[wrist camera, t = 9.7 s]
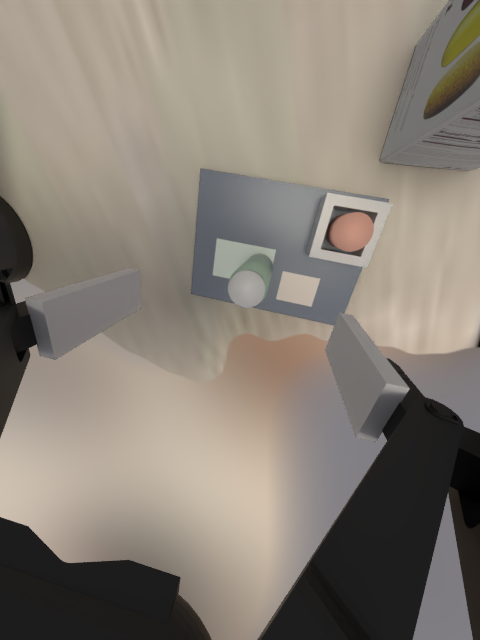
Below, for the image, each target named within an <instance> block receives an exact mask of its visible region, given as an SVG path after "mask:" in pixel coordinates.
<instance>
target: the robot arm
mask: <svg viewBox="0 0 480 640" xmlns="http://www.w3.org/2000/svg"><path fill="white" fill-rule="evenodd" d="M31 263H32V251H31V245H30V241H29V238H28V236H27V233H26V231H25V229H24V227H23V225H22V223H21V221H20V220H19V218H18V216H17V215H16V214H15V212H14V211H13V210H12V208H11V207H10V206H9V205H8V204H7V203H6V202H5V201H4V200H3V199H2V198H1V197H0V437H1V434H2V432H3V429H4V426H5V424H6V421H7V418H8V415H9V413H10V410H11V407H12V405H13V402H14V399H15V396H16V394H17V391H18V388H19V385H20V382H21V380H22V377H23V374H24V372H25V369H26V366H27V364H28V361H29V358H30V352H29V348H30V347H32V346H34V345H36V344H37V347H38V350H39V355H40V356H43V357H47V358H50V359H57V358H59V357H61V356H62V355H64V354H65V353H67V352H69V351H71V350H72V349H74V348H76V347H77V346H79V345H80V344H82V343H84V342H86V341H87V340H89V339H90V338H92V337H94V336H96V335H97V334H98V333H100V332H102V331H104V330H105V329H107V328H109V327H110V326H112V325H114V324H115V323H117V322H119V321H120V320H122V319H124V318H125V317H127V316H129V315H130V314H132V313H134V312H135V311H137V310H139V309H140V308H141V295H140V270H137V269H132V268H127V269H123V270H120V271H117V272H113V273H110V274H106V275H103V276H99V277H96V278H92V279H89V280H86V281H82V282H79V283H75V284H72V285H68V286H65V287H61V288H58V289H55V290H51V291H48V292H44V293H41V294H37V295H34V296H30V297H27V298H25V301H24V302H20V303H17V304H16V302H15V299H14V296H13V292H12V288H11V285H10V283H11V282H16V281H19V280H21V279H23V278H24V277H25V276H26V275H27V274H28V272H29V270H30V267H31ZM325 351H326V354H327V357H328V360H329V363H330V366H331V368H332V371H333V374H334V377H335V380H336V382H337V386H338V388H339V391H340V394H341V397H342V400H343V403H344V405H345V408H346V411H347V414H348V417H349V419H350V423H351V425H352V428H353V431H354V434H355V437H357V438H360V439H364V440H368V441H372V442H376V441H377V439H378V438H379V436H380V435H381V433H382V432H383V433H384V435H385V437H386V439H387V442H386V444H385V445H384V447H383V449H382V450H381V451H380V453H379V454H378V456H377V457H376V459H375V461H374V462H373V464H372V465H371V467H370V468H369V470H368V471H367V473H366V474H365V476H364V478H363V479H362V481H361V482H360V484H359V485H358V487H357V488H356V490H355V491H354V493H353V495H352V496H351V497H350V499H349V500H348V502H347V504H346V505H345V507H344V508H343V510H342V511H341V513H340V514H339V516H338V517H337V519H336V520H335V522H334V524H333V525H332V526H331V528H330V530H329V532H328V533H327V534H326V536H325V537H324V539H323V540H322V542H321V544H320V545H319V546H318V548H317V549H316V551H315V553H314V554H313V556H312V557H311V559H310V560H309V562H308V563H307V565H306V566H305V568H304V569H303V571H302V572H301V574H300V576H299V577H298V579H297V580H296V582H295V583H294V585H293V586H292V588H291V589H290V591H289V593H288V594H287V595H286V597H285V598H284V600H283V602H282V603H281V605H280V606H279V608H278V609H277V611H276V612H275V614H274V615H273V617H272V618H271V620H270V621H269V623H268V624H267V626H266V627H265V629H264V631H263V632H262V633H261V635H260V637H259V638H258V640H412V639H413V635H414V631H415V627H416V623H417V619H418V615H419V610H420V606H421V602H422V598H423V594H424V589H425V585H426V581H427V577H428V573H429V569H430V564H431V561H432V556H433V552H434V548H435V544H436V540H437V535H438V531H439V527H440V523H441V519H442V515H443V510H444V506H445V502H446V498H447V494H448V493H449V499H450V505H451V511H452V517H453V523H454V529H455V535H456V541H457V547H458V552H459V559H460V565H461V571H462V576H463V583H464V589H465V595H466V600H467V606H468V612H469V618H470V624H471V630H472V636H473V640H480V433H478V432H476V431H473V430H471V429H468V428H466V427H464V425H463V422H462V420H461V419H460V417H459V416H458V415H457V414H456V413H454V412H453V411H452V410H451V409H449V408H448V407H446V406H445V405H443V404H441V403H439V402H437V401H435V400H432V399H429V398H425V397H424V396H423V395H422V393H421V392H420V391H419V390H418V389H417V387H416V386H415V385H414V384H413V382H412V381H410V379H409V378H408V376H407V375H405V373H404V372H403V370H402V369H401V368H400V367H399V366H398V365H397V364H396V363H394V362H393V361H391V360H390V359H388V358H386V357H385V356H384V355H383V354H382V352H381V351H380V350H379V349H378V347H377V346H376V345H375V343H374V342H373V341H372V340H371V338H370V337H369V336H368V335H367V333H366V332H365V331H364V329H363V328H362V327H361V326H360V324H359V323H358V322H357V320H356V319H355V318H354V317H353V315H349V314H344V313H339V315H338V318H337V321H336V323H335V326H334V328H333V331H332V333H331V336H330V339H329V341H328V344H327V346H326V349H325ZM179 584H180V577H178V576H175V575H172V574H169V573H166V572H163V571H160V570H157V569H154V568H151V567H148V566H145V565H142V564H139V563H136V562H133V561H130V560H120V561H102V562H84V563H66V562H63V561H62V560H60V559H59V558H58V557H57V556H56V555H55V554H54V553H53V552H52V550H51V549H49V547H48V546H47V545H46V544H44V543H43V541H42V540H41V539H40V538H39V537H38V536H37V535H36V534H35V533H34V532H33V531H32V530H31V529H30V528H29V527H28V526H25V525H22V524H19V523H16V522H13V521H10V520H7V519H4V518H1V517H0V640H211V637H210V635H209V633H208V631H207V630H206V628H205V626H204V624H203V623H202V621H201V619H200V618H199V616H198V615H197V614H196V612H195V611H194V610H193V608H192V607H191V606H190V605H189V604H188V603H187V602H186V601H185V600H184V599H183V598H182V597H181V596H180V595H179V594H178V592H179Z"/></svg>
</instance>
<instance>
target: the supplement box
mask: <svg viewBox="0 0 480 640" xmlns="http://www.w3.org/2000/svg"><path fill="white" fill-rule="evenodd" d="M380 162H384V163H392V164H402V165H412V166H423V167H433V168H443V169H454V170H464V171H469V170H473V169H477V168H480V0H449V2H448V3H447V4H446V6H445V7H444V8H443V10H442V11H441V12H440V14H439V15H438V16H437V18H436V19H435V20H434V22H433V23H432V24H431V26H430V27H429V28H428V30H427V31H426V32H425V34H424V35H423V36H422V38H421V39H420V40H419V42H418V43H417V46H416V49H415V52H414V55H413V58H412V61H411V64H410V67H409V70H408V73H407V76H406V80H405V83H404V86H403V89H402V92H401V95H400V98H399V101H398V104H397V107H396V110H395V113H394V116H393V120H392V123H391V126H390V129H389V132H388V135H387V138H386V141H385V144H384V147H383V150H382V154H381V157H380Z"/></svg>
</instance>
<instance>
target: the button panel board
mask: <svg viewBox="0 0 480 640" xmlns="http://www.w3.org/2000/svg"><path fill="white" fill-rule="evenodd" d="M388 202H389V199H384V198H378V197H372V196H366V195H360V194H353V193H347V192H341V191H335V190H329V189H323V188H317V187H311V186H305V185H299V184H292V183H286V182H280V181H274V180H268V179H262V178H256V177H250V176H244V175H238V174H231V173H225V172H219V171H213V170H207V169H200V182H199V196H198V209H197V222H196V236H195V249H194V262H193V276H192V289H191V294H195V295H199V296H204V297H208V298H213V299H217V300H222V301H226V302H231V303H234V302H233V301H232V300H231V298H230V296H229V294H228V283H229V279H230V277H231V275H232V274H233V273H234V272H235V271H236V270H237V269H238V268H239V267H240V266H241V265H242V264H243V263H244V262H245V261H247V260H248V259H249V258H250V257H251V256H252V255H254V254H264V255H266V256H268V257H269V258H270V260H271V261H272V264H273V271H272V275H271V279H270V283H269V287H268V291H267V294H266V296H265V298H264V299H263V300H262V301H261V302H260V303H259V304H257V305H256V306H254V307H253V308H258V309H262V310H267V311H271V312H276V313H280V314H285V315H289V316H294V317H299V318H303V319H308V320H312V321H317V322H321V323H326V324H330V325H335V323H336V321H337V318H338V315H339V313H344V312H345V310H346V307H347V305H348V302H349V300H350V297H351V295H352V292H353V290H354V287H355V285H356V282H357V280H358V277H359V275H360V272H361V270H362V267H365V268H367V266H368V264H369V261H370V259H371V256H372V254H373V251H374V249H375V246H376V244H377V241H378V239H379V236H380V234H381V232H382V229H383V227H384V224H385V222H386V219H387V217H388V214H389V212H390V209H391V207H392V204H393V203H388ZM353 212H361V213H364V214H366V215H368V216H369V217H370V218H371V220H372V222H373V225H374V231H373V235H372V238H371V239H370V241H369V242H368V243H367V245H365V246H364V247H363V248H361V249H359V250H357V251H352V252H348V251H344V250H341V249H339V248H337V247H334V246H333V245H331V244H330V243H329V241H328V239H327V228H328V226H329V224H330V222H331V221H332V220H333V219H334V218H336V217H337V216H339V215H342V214H348V213H353Z"/></svg>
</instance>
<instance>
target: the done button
mask: <svg viewBox="0 0 480 640" xmlns="http://www.w3.org/2000/svg"><path fill="white" fill-rule="evenodd" d="M373 231H374V225H373V222H372V220H371V218H370V217H369V216H368V215H366V214H364V213H361V212H353V213H348V214H342V215H339V216H337V217H336V218H334V219H333V220H332V221H331V222H330V224H329V226H328V228H327V239H328V241H329V243H330V244H331V245H333V246H334V247H337V248H339V249H341V250H344V251H348V252H352V251H357V250H359V249H361V248H363V247H364V246H365V245H367V243H368V242H369V241H370V239H371V238H372V235H373Z"/></svg>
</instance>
